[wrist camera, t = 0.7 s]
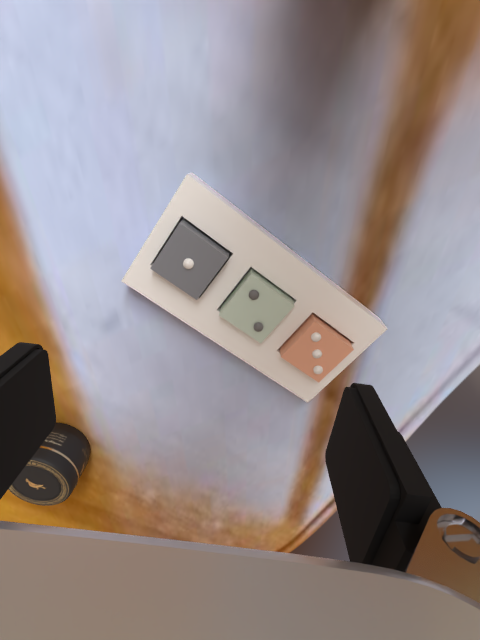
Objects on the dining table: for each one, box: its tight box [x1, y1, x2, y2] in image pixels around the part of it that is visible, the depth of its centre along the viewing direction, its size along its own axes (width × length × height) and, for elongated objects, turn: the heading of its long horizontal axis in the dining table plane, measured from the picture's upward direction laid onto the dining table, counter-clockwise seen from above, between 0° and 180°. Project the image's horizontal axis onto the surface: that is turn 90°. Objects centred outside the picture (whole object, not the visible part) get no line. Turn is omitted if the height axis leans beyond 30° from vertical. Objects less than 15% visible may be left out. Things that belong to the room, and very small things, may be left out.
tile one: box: [150, 218, 230, 300], centre depth 37 cm, size 6×6×3 cm
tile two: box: [219, 267, 294, 343], centre depth 40 cm, size 6×6×3 cm
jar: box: [9, 423, 90, 505], centre depth 52 cm, size 10×10×8 cm
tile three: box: [280, 313, 354, 383], centre depth 42 cm, size 6×6×3 cm
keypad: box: [122, 173, 387, 403], centre depth 41 cm, size 14×28×3 cm, turn 53°
